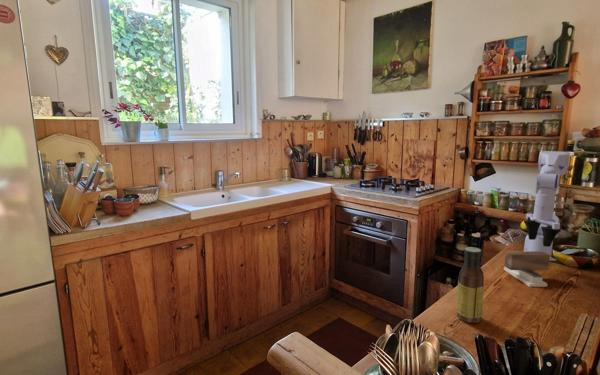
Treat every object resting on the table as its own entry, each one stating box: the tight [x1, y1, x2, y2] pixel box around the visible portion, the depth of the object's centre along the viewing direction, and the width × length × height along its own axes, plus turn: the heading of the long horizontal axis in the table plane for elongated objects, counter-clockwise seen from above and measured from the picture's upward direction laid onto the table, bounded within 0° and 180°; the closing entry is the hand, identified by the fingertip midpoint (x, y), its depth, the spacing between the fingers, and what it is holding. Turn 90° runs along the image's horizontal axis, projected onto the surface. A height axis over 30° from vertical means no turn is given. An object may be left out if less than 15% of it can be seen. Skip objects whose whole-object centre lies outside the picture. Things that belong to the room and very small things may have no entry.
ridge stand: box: [503, 266, 548, 288], centre depth 120 cm, size 14×6×4 cm, turn 1°
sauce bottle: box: [456, 246, 485, 324], centre depth 92 cm, size 7×6×20 cm
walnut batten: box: [503, 250, 550, 271], centre depth 119 cm, size 4×13×6 cm, turn 91°
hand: (539, 242), depth 125 cm, fingers open, 7 cm apart
